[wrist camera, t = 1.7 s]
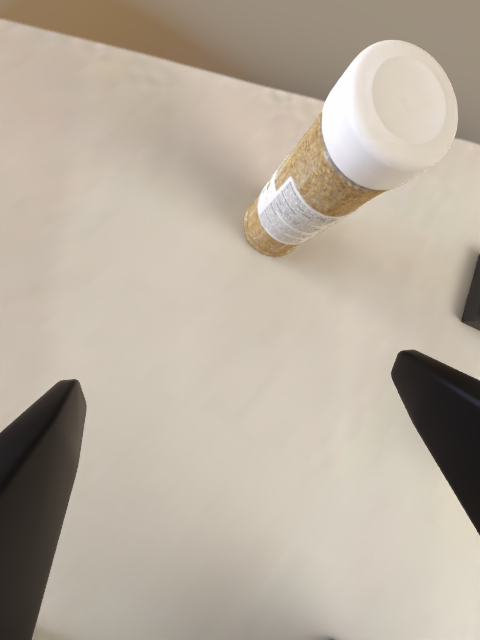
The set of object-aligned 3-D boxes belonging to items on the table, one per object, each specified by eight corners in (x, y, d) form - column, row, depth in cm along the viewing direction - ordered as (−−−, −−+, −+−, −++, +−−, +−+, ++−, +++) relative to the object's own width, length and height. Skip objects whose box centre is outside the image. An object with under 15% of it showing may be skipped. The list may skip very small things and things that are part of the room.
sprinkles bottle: (273, 186, 24) (412, 7, 11) (311, 233, 24) (486, 119, 11) (228, 223, 23) (323, 75, 10) (269, 271, 23) (409, 194, 10)
